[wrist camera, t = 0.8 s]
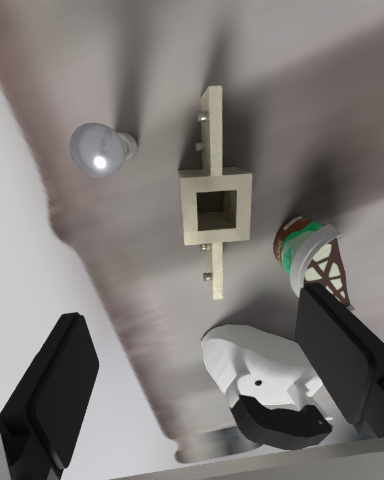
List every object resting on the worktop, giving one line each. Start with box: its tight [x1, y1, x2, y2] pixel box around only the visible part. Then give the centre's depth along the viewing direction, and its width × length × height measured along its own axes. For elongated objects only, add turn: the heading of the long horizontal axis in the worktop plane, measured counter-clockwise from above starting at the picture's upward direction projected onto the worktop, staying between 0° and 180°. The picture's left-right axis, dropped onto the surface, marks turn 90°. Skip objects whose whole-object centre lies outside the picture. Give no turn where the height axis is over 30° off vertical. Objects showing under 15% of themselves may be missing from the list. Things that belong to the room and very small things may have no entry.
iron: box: [201, 324, 333, 450], centre depth 39 cm, size 11×24×15 cm, turn 64°
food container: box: [273, 215, 356, 312], centre depth 33 cm, size 12×6×10 cm, turn 24°
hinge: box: [178, 86, 252, 300], centre depth 30 cm, size 24×8×7 cm, turn 3°
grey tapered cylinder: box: [70, 123, 138, 177], centre depth 24 cm, size 4×4×13 cm
